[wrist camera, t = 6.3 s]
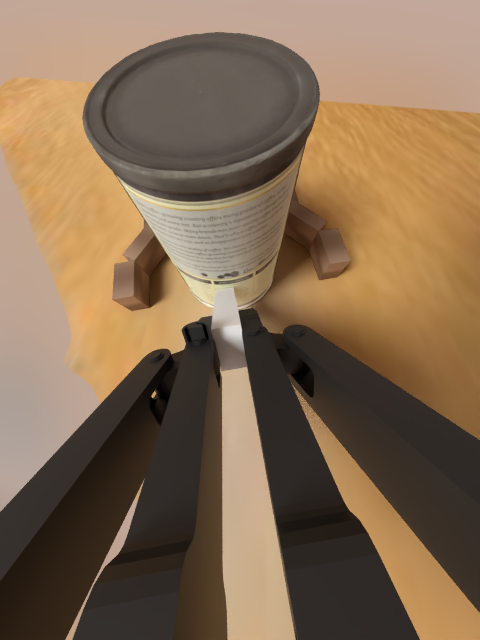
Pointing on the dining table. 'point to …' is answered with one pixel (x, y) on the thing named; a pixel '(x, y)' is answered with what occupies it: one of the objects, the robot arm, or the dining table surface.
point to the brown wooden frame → (299, 226)
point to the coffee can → (209, 151)
